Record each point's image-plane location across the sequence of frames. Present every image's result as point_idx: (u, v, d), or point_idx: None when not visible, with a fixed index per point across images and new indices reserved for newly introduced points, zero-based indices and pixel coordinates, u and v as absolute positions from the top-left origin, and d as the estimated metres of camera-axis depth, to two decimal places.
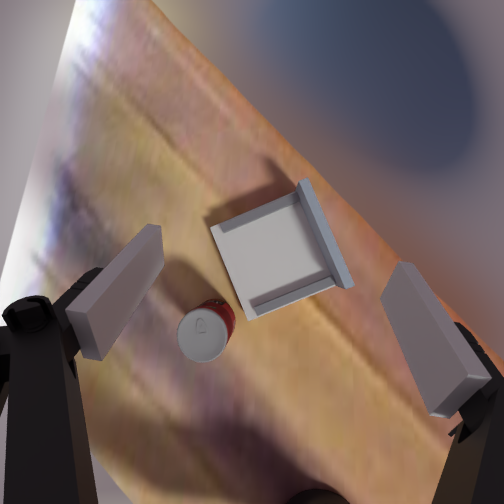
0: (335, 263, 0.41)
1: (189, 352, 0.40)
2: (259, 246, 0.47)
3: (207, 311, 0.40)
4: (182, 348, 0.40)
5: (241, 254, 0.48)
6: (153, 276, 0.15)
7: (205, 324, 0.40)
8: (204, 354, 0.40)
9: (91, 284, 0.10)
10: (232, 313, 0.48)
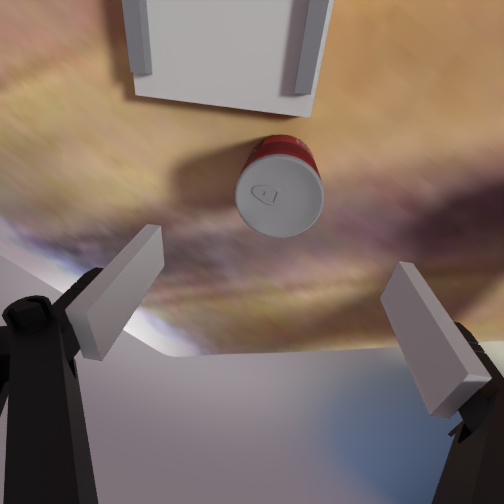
0: None
1: (291, 229, 0.25)
2: (198, 13, 0.23)
3: (246, 170, 0.22)
4: (280, 234, 0.25)
5: (198, 62, 0.25)
6: (153, 275, 0.15)
7: (265, 185, 0.23)
8: (307, 211, 0.24)
9: (91, 284, 0.10)
10: (284, 137, 0.29)
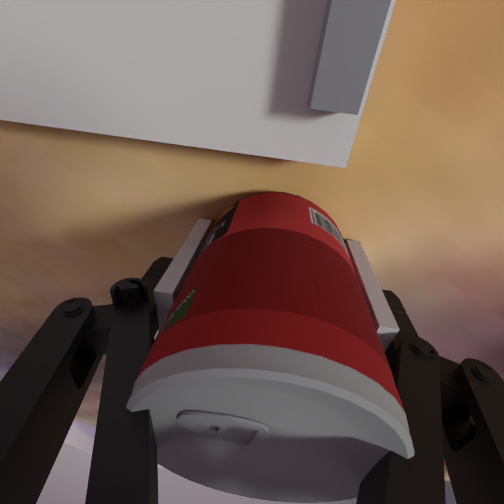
0: None
1: (300, 489, 0.09)
2: None
3: (145, 392, 0.06)
4: (268, 496, 0.09)
5: (44, 23, 0.09)
6: None
7: (218, 415, 0.07)
8: (350, 469, 0.08)
9: (168, 270, 0.11)
10: (282, 204, 0.13)
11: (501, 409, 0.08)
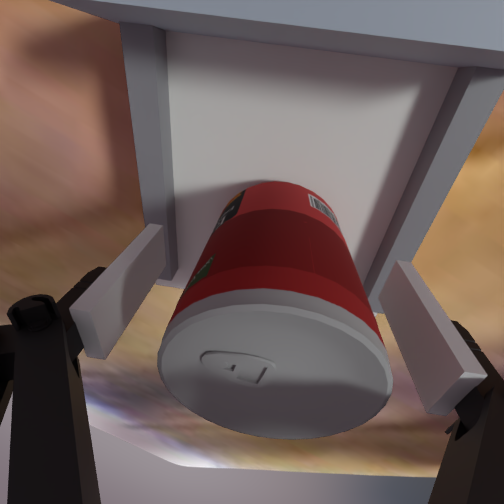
0: (497, 43, 0.08)
1: (301, 427, 0.11)
2: None
3: (179, 329, 0.08)
4: (274, 435, 0.11)
5: None
6: (155, 275, 0.15)
7: (235, 353, 0.09)
8: (343, 404, 0.10)
9: (94, 283, 0.10)
10: (284, 190, 0.14)
11: None
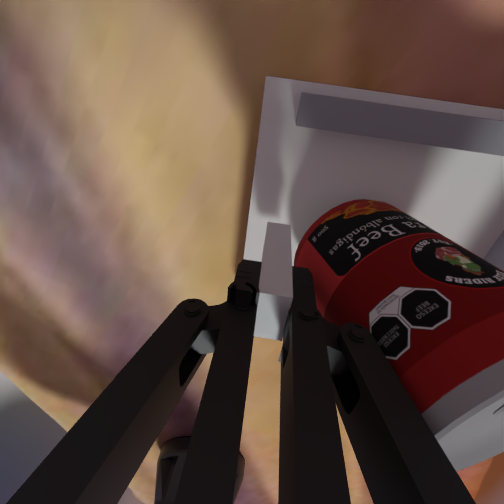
0: None
1: None
2: None
3: None
4: None
5: (301, 201, 0.18)
6: None
7: None
8: None
9: (262, 272, 0.12)
10: None
11: (374, 364, 0.09)
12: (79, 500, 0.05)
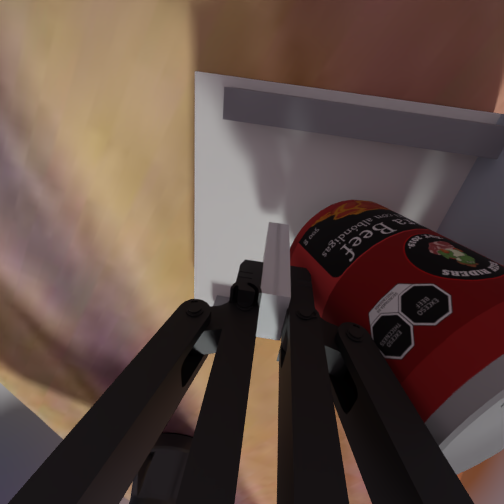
0: None
1: None
2: (295, 203, 0.18)
3: None
4: None
5: (243, 194, 0.18)
6: None
7: None
8: (456, 455, 0.10)
9: (264, 272, 0.12)
10: None
11: (372, 363, 0.09)
12: (81, 500, 0.05)
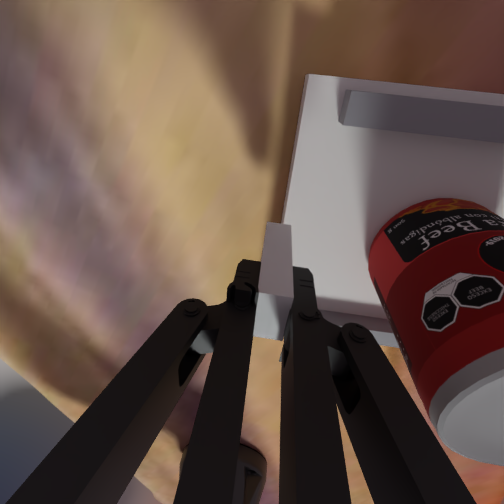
0: None
1: (456, 427, 0.10)
2: (396, 210, 0.17)
3: None
4: (450, 416, 0.10)
5: (340, 203, 0.17)
6: None
7: None
8: (491, 444, 0.11)
9: (261, 272, 0.12)
10: None
11: (375, 364, 0.09)
12: (78, 500, 0.05)
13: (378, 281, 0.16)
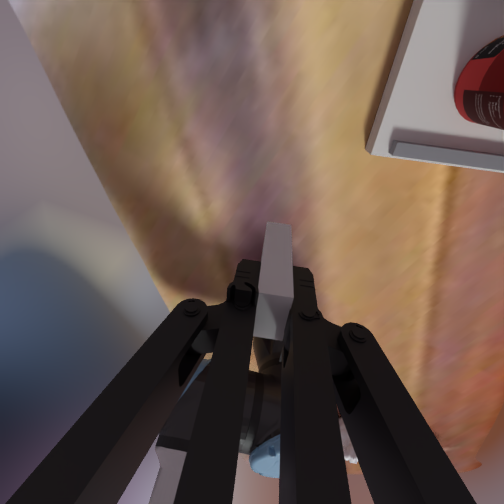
0: None
1: None
2: (479, 48, 0.27)
3: None
4: None
5: (443, 43, 0.27)
6: None
7: None
8: None
9: (261, 272, 0.12)
10: None
11: (375, 364, 0.09)
12: (78, 500, 0.05)
13: (469, 86, 0.26)
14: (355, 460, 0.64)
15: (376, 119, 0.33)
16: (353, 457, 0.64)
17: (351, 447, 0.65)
